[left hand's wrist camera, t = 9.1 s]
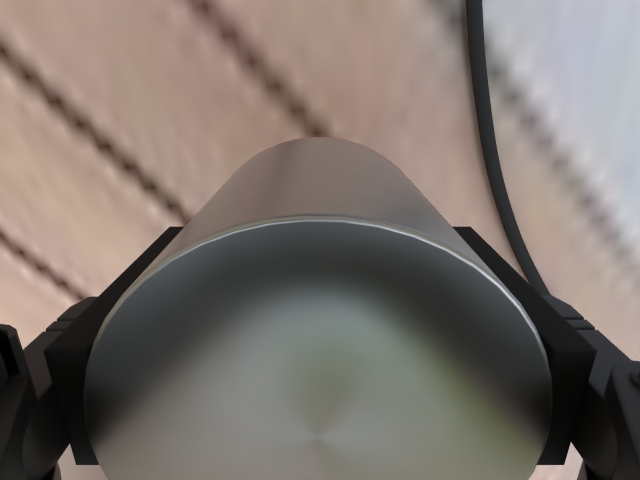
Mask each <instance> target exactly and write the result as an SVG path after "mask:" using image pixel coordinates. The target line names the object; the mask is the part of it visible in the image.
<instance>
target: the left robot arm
mask: <svg viewBox="0 0 640 480" xmlns="http://www.w3.org/2000/svg"><path fill="white" fill-rule="evenodd" d="M466 12H467V28H468V43H469V55H470V65H471V74H472V82H473V90H474V98H475V105H476V112H477V119H478V126H479V133H480V139H481V145H482V150H483V155H484V160H485V165H486V169H487V174H488V178H489V182H490V185H491V189H492V193H493V196H494V199H495V203H496V206H497V209H498V212H499V215H500V218H501V221H502V224H503V227H504V230H505V232H506V235H507V238H508V240H509V243H510V245H511V247H512V250H513V252H514V254H515V256H516V258H517V260H518V262H519V264H520V266H521V268H522V270H523V272H524V274H525V276H526V278H527V280H528V282H529V283H530V285H531V286H530V285H529V284H528V283H527V282H526V281H525V280H524V279H523V278H522V277H521V276H520V275H519V274H518V273H517V272H516V271H515V270H514V269H513V268H512V267H511V266H510V265H509V264H508V263H507V262H506V261H505V260H504V259H503V258H502V257H501V256H500V255H499V254H498V253H497V252H496V251H495V250H494V249H493V248H492V247H491V246H490V245H489V244H488V243H487V242H485V241H484V240H483V239H482V238H481V237H480V236H479V235H478V234H477V233H476V232H475V231H474V230H473V229H472V228H471V227H453V229H454V230H455V231H456V232H457V233H458V234H459V235H460V236H461V237H462V239H463V240H464V241H465V242H466V243H467V244H468V245H469V246H470V247H471V249H472V250H473V251H474V252H475V253H476V254H477V255H478V256H479V257H480V259H481V260H482V261H483V262H484V263H485V264H486V265H487V266H488V268H489V269H490V270H491V271H492V272H493V273H494V274H495V275H496V276H497V278H498V279H499V280H500V281H501V282H502V283H503V284H504V285H505V287H506V288H507V289H508V290H509V291H510V292H511V293H512V294H513V296H514V297H515V298H516V299H517V300H518V301H519V302H520V303H521V305H522V307H523V308H524V310H525V311H526V313H527V315H528V316H529V318H530V319H531V321H532V323H533V324H534V326H535V327H536V330H537V332H538V334H539V337H540V339H541V342H542V344H543V347H544V349H545V351H546V355H547V360H548V364H549V369H550V373H551V378H552V396H553V408H552V416H551V424H550V430H549V433H548V437H547V440H546V443H545V447H544V450H543V453H542V455H541V457H540V459H539V461H538V463H537V465H564V463H565V460H566V456H567V453H568V450H569V446H570V443H571V442H572V444H573V445H574V447H575V448H576V450H577V451H578V453H579V454H580V455H581V457H582V458H583V462H582V465H581V468H580V471H579V474H578V478H577V480H640V361H632V360H630V359H629V358H628V357H627V356H626V355H625V354H624V353H623V352H621V351H620V350H619V349H618V348H617V347H616V346H615V345H614V344H613V343H611V342H610V341H609V340H608V339H607V338H606V337H605V336H604V335H603V334H602V333H600V332H599V331H598V330H595V327H594V326H593V325H592V324H590V323H589V322H588V321H587V320H584V317H583V316H582V315H580V314H579V313H578V312H577V311H576V310H575V309H574V308H573V307H572V306H570V305H569V304H567V303H565V302H563V301H561V300H559V299H557V298H555V297H553V296H551V295H550V293H549V291H548V290H547V288H546V286H545V284H544V282H543V280H542V279H541V277H540V275H539V273H538V271H537V269H536V267H535V265H534V263H533V261H532V259H531V257H530V255H529V253H528V251H527V249H526V246H525V244H524V242H523V239H522V237H521V234H520V232H519V229H518V226H517V223H516V220H515V217H514V214H513V211H512V208H511V205H510V202H509V198H508V195H507V191H506V188H505V184H504V180H503V176H502V172H501V167H500V162H499V157H498V152H497V147H496V140H495V134H494V127H493V120H492V112H491V104H490V96H489V88H488V79H487V70H486V59H485V47H484V31H483V11H482V0H466ZM183 228H184V227H169V228H168V229H167V230H166V231H165V232H164V233H163V234H162V235H161V236H160V237H159V238H158V239H157V240H156V241H155V242H154V243H153V244H152V245H151V246H150V247H149V248H148V249H147V250H146V251H145V252H144V253H143V254H142V255H140V256H139V257H138V258H137V259H136V260H135V261H134V262H133V263H132V264H131V265H130V266H129V267H128V268H127V269H126V270H125V271H124V272H123V273H122V274H121V275H120V276H119V277H118V278H117V279H116V280H115V281H114V282H113V283H112V284H111V285H110V286H109V287H108V288H107V289H106V290H105V291H104V292H103V293H102V294H101V295H100V296H99V297H88V298H86V299H84V300H82V301H80V302H79V303H77V304H75V305H73V306H71V307H70V308H69V309H67V310H66V311H65V312H64V313H63V314H62V315H61V316H60V317H59V318H58V319H57V321H54V322H53V323H52V324H51V325H50V326H49V327H48V328H47V329H46V332H42V333H41V334H40V335H39V336H38V337H37V338H36V339H34V340H33V341H32V342H31V343H30V344H29V345H28V346H27V347H26V348H25V349H23V350H22V346H21V343H20V340H19V337H18V333H17V330H16V329H15V328H13V327H12V326H10V325H4V324H0V480H61V473H60V468H59V465H58V462H57V461H58V460H59V458H60V457H61V455H62V454H63V452H64V451H65V449H66V448H67V447H68V445H69V444H70V445H71V448H72V452H73V455H74V459H75V462H76V465H99V463H98V460H97V458H96V455H95V453H94V451H93V448H92V446H91V443H90V440H89V435H88V431H87V427H86V423H85V415H84V400H83V393H84V383H85V374H86V367H87V363H88V360H89V357H90V353H91V350H92V346H93V343H94V341H95V339H96V337H97V334H98V332H99V330H100V328H101V326H102V324H103V322H104V320H105V318H106V317H107V315H108V314H109V313H110V311H111V310H112V308H113V307H114V306H115V304H116V303H117V301H118V300H119V299H120V297H121V296H122V294H123V293H124V292H125V291H126V290H127V289H128V288H129V287H130V286H131V285H132V284H133V283H134V281H135V280H136V279H137V278H138V277H139V276H140V275H141V274H142V273H143V272H144V271H145V270H146V268H147V267H148V266H149V265H150V264H151V263H152V262H153V261H154V260H155V259H156V258H157V256H158V255H159V254H160V253H161V252H162V251H163V250H164V249H165V248H166V247H167V246H168V245H169V243H170V242H171V241H172V240H173V239H174V238H175V237H176V236H177V235H178V234H179V233H180V231H181V230H182V229H183Z"/></svg>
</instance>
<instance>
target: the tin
mask: <svg viewBox="0 0 640 480" xmlns="http://www.w3.org/2000/svg"><path fill="white" fill-rule="evenodd" d="M83 400H84V415H85V423H86V427H87V431H88V435H89V440H90V443H91V446H92V448H93V451H94V453H95V455H96V458H97V460H98V463H99V465H100V467H101V468H102V470H103V472H104V473H105V475H106V477H107V478H108V480H528V479H529V478H530V476H531V475H532V473H533V472H534V469H535V467H536V465H537V463H538V461H539V459H540V457H541V455H542V453H543V450H544V447H545V443H546V440H547V437H548V433H549V430H550V424H551V416H552V408H553V396H552V378H551V373H550V369H549V364H548V360H547V355H546V351H545V349H544V347H543V344H542V342H541V339H540V337H539V334H538V332H537V330H536V327H535V326H534V324H533V323H532V321H531V319H530V318H529V316H528V315H527V313H526V311H525V310H524V308H523V307H522V305H521V303H520V302H519V301H518V300H517V299H516V298H515V297H514V296H513V294H512V293H511V292H510V291H509V290H508V289H507V288H506V287H505V285H504V284H503V283H502V282H501V281H500V280H499V279H498V278H497V276H496V275H495V274H494V273H493V272H492V271H491V270H490V269H489V268H488V266H487V265H486V264H485V263H484V262H483V261H482V260H481V259H480V257H479V256H478V255H477V254H476V253H475V252H474V251H473V250H472V249H471V247H470V246H469V245H468V244H467V243H466V242H465V241H464V240H463V239H462V237H461V236H460V235H459V234H458V233H457V232H456V231H455V230H454V229H453V227H452V226H451V225H450V224H449V223H448V222H447V221H446V220H445V218H444V217H443V216H442V215H441V214H440V213H439V212H438V211H437V210H436V208H435V207H434V206H433V205H432V204H431V203H430V202H429V201H428V200H427V198H426V197H425V196H424V195H423V194H422V193H421V192H420V191H419V190H418V188H417V187H416V186H415V185H414V184H413V183H412V182H411V181H410V180H409V178H408V177H407V176H406V175H405V174H404V173H403V172H402V171H401V170H400V169H399V168H398V167H397V166H396V165H395V164H393V163H392V162H391V161H390V160H389V159H387V158H385V157H384V156H382V155H381V154H379V153H377V152H376V151H374V150H372V149H369V148H367V147H365V146H363V145H360V144H357V143H354V142H350V141H347V140H341V139H335V138H322V137H312V138H303V139H296V140H292V141H288V142H284V143H281V144H278V145H276V146H273V147H271V148H268V149H266V150H264V151H263V152H261V153H259V154H257V155H256V156H254V157H253V158H251V159H250V160H249V161H247V162H246V163H245V164H243V165H242V166H241V167H240V168H239V169H238V170H237V171H236V172H235V173H234V174H233V175H232V176H231V177H230V178H229V179H228V180H227V182H226V183H225V184H224V185H223V186H222V187H221V188H220V189H219V190H218V191H217V192H216V193H215V195H214V196H213V197H212V198H211V199H210V200H209V201H208V202H207V203H206V204H205V205H204V207H203V208H202V209H201V210H200V211H199V212H198V213H197V214H196V215H195V216H194V217H193V218H192V220H191V221H190V222H189V223H188V224H187V225H186V226H185V227H184V228H183V229H182V230H181V231H180V233H179V234H178V235H177V236H176V237H175V238H174V239H173V240H172V241H171V242H170V243H169V245H168V246H167V247H166V248H165V249H164V250H163V251H162V252H161V253H160V254H159V255H158V256H157V258H156V259H155V260H154V261H153V262H152V263H151V264H150V265H149V266H148V267H147V268H146V270H145V271H144V272H143V273H142V274H141V275H140V276H139V277H138V278H137V279H136V280H135V281H134V283H133V284H132V285H131V286H130V287H129V288H128V289H127V290H126V291H125V292H124V293H123V294H122V296H121V297H120V299H119V300H118V301H117V303H116V304H115V306H114V307H113V308H112V310H111V311H110V313H109V314H108V315H107V317H106V318H105V320H104V322H103V324H102V326H101V328H100V330H99V332H98V334H97V337H96V339H95V341H94V343H93V346H92V350H91V353H90V357H89V360H88V363H87V367H86V374H85V383H84V393H83Z"/></svg>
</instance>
